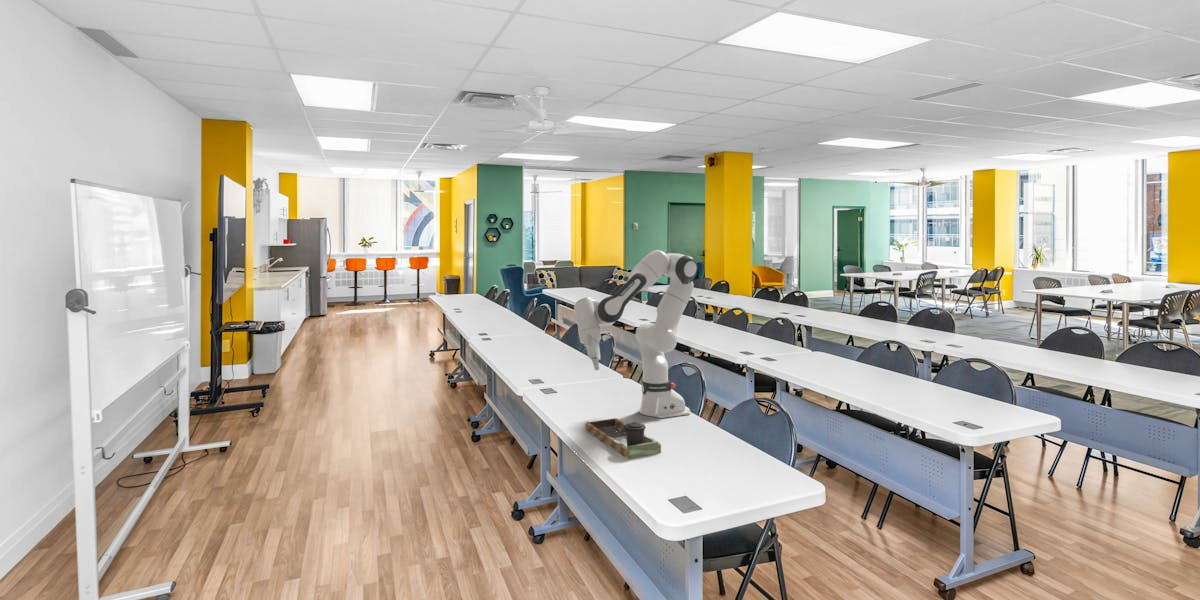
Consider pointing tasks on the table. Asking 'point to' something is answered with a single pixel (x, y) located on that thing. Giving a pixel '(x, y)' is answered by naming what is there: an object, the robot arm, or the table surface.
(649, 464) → the table surface
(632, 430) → the coffee cup
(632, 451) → the trap box
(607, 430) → the mats
